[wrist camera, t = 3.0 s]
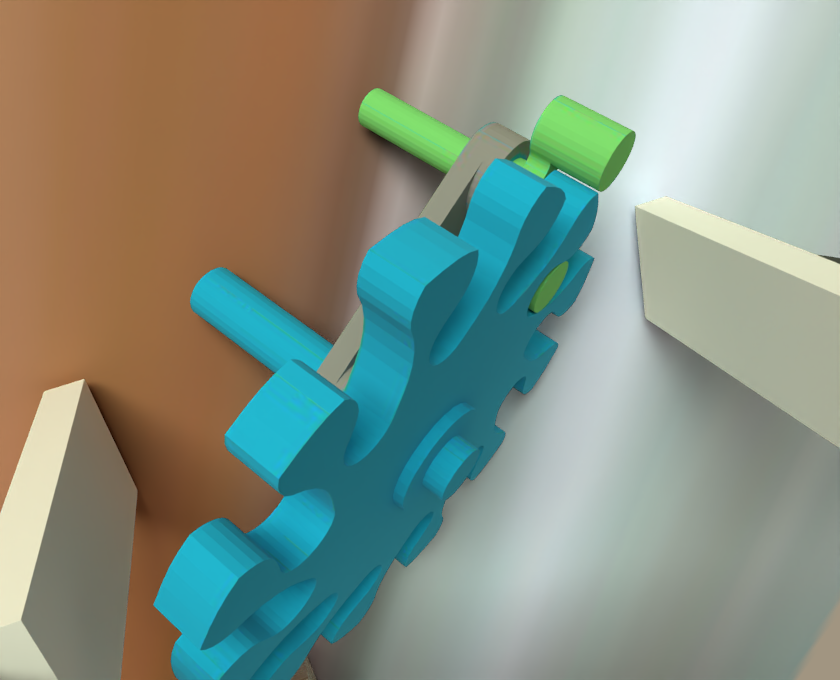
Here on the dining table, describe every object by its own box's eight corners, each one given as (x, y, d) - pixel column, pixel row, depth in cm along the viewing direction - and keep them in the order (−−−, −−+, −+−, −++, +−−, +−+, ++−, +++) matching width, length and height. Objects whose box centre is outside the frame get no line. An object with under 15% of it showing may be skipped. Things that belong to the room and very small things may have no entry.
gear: (391, 653, 17) (83, 877, 8) (210, 497, 19) (-210, 530, 10) (664, 247, 17) (680, -20, 8) (453, 129, 19) (256, -201, 10)
